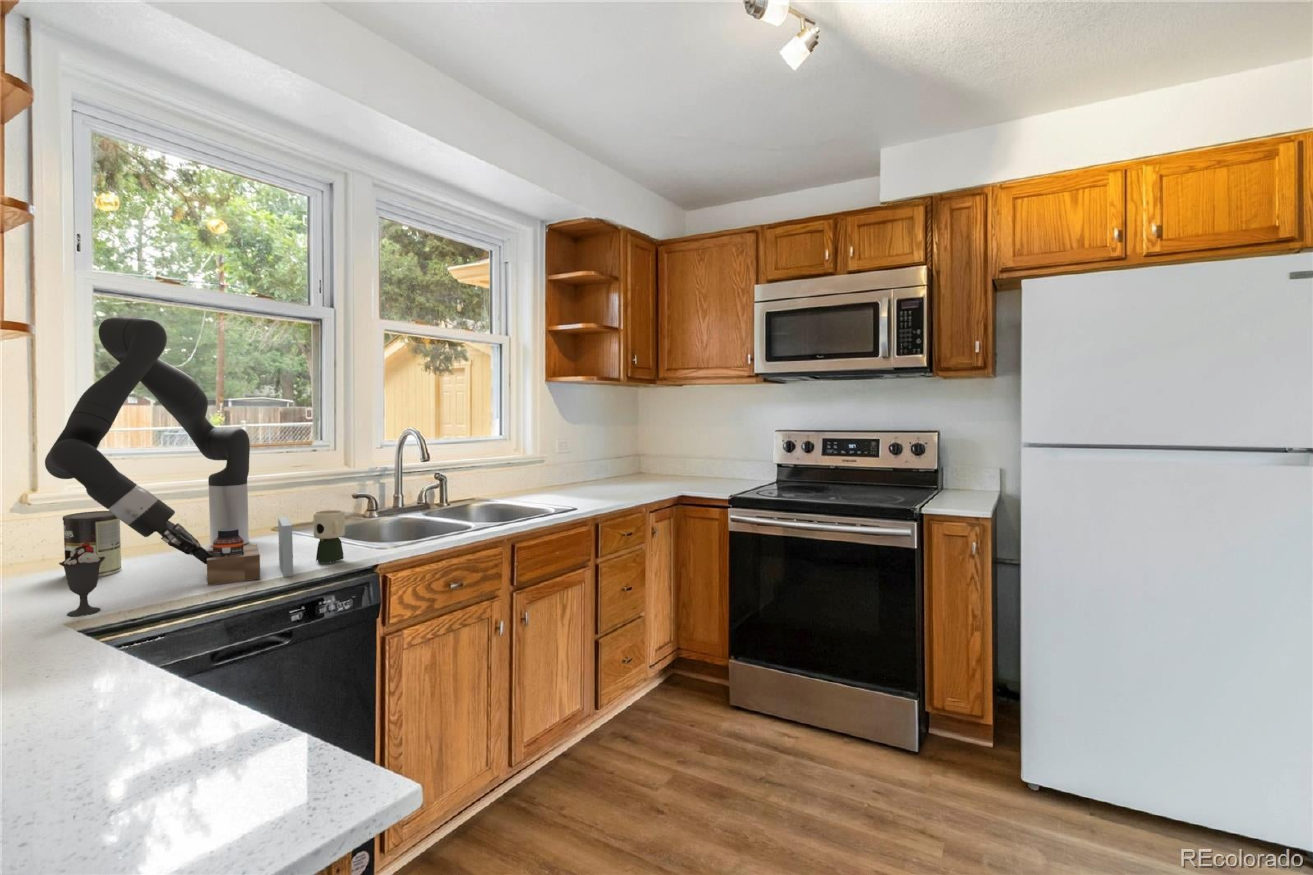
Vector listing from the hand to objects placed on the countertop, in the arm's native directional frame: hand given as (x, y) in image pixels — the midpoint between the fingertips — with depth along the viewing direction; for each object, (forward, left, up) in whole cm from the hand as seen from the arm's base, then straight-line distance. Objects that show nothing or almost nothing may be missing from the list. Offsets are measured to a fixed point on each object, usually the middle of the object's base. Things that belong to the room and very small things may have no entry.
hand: (210, 560), depth 148 cm
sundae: (+15, -20, -5) cm, 25 cm away
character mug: (-3, +25, -5) cm, 26 cm away
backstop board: (0, +15, -4) cm, 16 cm away
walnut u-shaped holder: (0, +4, -4) cm, 6 cm away
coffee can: (-21, -23, -5) cm, 32 cm away
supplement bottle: (0, +3, -5) cm, 6 cm away
